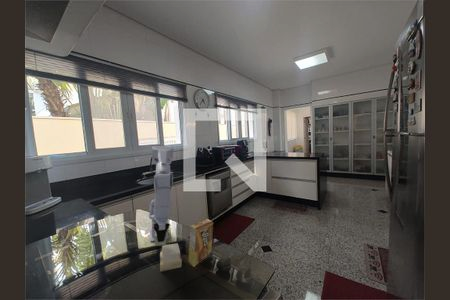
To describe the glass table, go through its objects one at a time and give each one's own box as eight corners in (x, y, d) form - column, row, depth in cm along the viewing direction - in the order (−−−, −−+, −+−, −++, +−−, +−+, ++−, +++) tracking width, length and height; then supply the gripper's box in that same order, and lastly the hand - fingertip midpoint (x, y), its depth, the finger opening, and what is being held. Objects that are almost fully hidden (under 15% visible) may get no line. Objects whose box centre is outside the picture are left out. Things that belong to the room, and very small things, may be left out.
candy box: (204, 251, 74) (207, 218, 73) (211, 257, 72) (213, 222, 70) (187, 261, 68) (190, 225, 67) (194, 268, 65) (196, 229, 64)
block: (154, 239, 68) (155, 230, 68) (165, 238, 69) (165, 228, 69) (154, 246, 64) (155, 235, 64) (165, 244, 66) (166, 234, 65)
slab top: (162, 252, 68) (162, 245, 68) (177, 250, 71) (177, 243, 70) (162, 263, 63) (163, 255, 63) (179, 260, 65) (179, 252, 65)
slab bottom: (159, 258, 69) (160, 251, 69) (178, 255, 72) (179, 248, 72) (160, 272, 62) (160, 265, 62) (181, 268, 65) (181, 260, 65)
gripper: (151, 197, 71) (150, 229, 72) (150, 213, 57) (148, 251, 59) (169, 196, 73) (168, 227, 75) (172, 211, 60) (170, 248, 61)
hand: (160, 237), depth 67 cm, fingers closed on block, 4 cm apart
